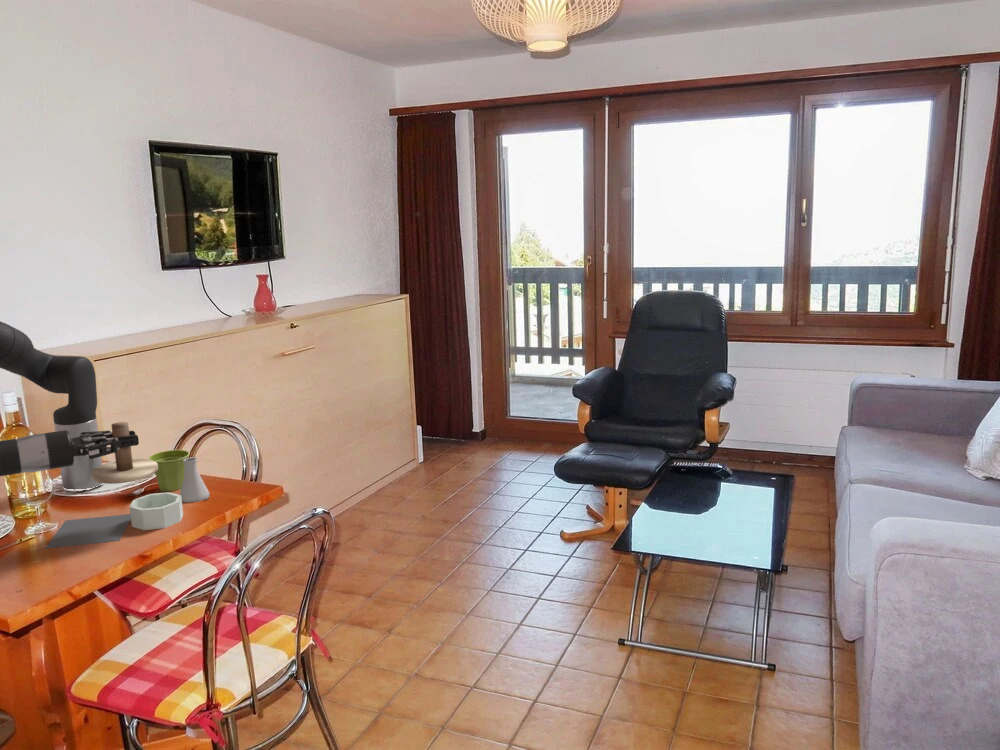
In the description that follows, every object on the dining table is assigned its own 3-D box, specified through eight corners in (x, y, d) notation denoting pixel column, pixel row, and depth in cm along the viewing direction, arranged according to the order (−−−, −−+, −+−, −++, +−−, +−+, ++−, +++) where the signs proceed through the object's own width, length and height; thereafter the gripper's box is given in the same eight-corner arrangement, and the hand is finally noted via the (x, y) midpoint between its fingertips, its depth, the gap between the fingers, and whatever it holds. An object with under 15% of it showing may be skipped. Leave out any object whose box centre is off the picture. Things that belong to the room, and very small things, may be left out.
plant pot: (143, 491, 192) (139, 458, 190) (174, 479, 200) (171, 447, 198) (170, 497, 188) (167, 463, 186) (201, 485, 196) (198, 452, 194)
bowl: (138, 516, 177) (135, 495, 176) (185, 511, 179) (183, 490, 178) (129, 533, 167) (126, 511, 166) (179, 528, 170) (176, 506, 168)
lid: (100, 466, 173) (94, 418, 171) (163, 461, 176) (158, 414, 174) (84, 486, 161) (77, 434, 158) (152, 480, 164) (146, 430, 161)
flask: (186, 493, 191) (182, 454, 189) (215, 493, 190) (211, 454, 188) (172, 504, 184) (167, 463, 182) (201, 505, 183) (197, 464, 181)
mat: (65, 522, 173) (65, 520, 173) (133, 515, 177) (133, 513, 177) (45, 550, 159) (45, 548, 159) (119, 542, 163) (119, 540, 162)
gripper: (45, 442, 152) (140, 428, 162) (40, 426, 164) (129, 413, 173) (50, 478, 154) (144, 462, 163) (44, 460, 165) (133, 446, 175)
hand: (136, 437), depth 168 cm, fingers closed on lid, 3 cm apart
